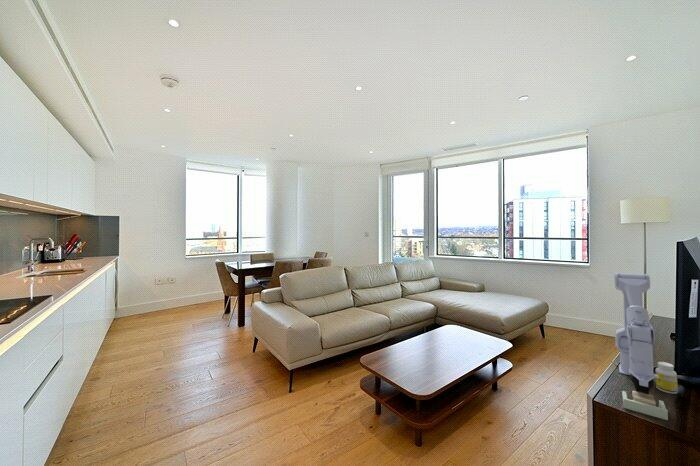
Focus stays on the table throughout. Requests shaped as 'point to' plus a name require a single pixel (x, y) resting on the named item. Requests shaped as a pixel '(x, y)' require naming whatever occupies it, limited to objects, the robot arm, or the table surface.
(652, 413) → the dock
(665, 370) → the supplement bottle
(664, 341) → the table surface
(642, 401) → the birch block
